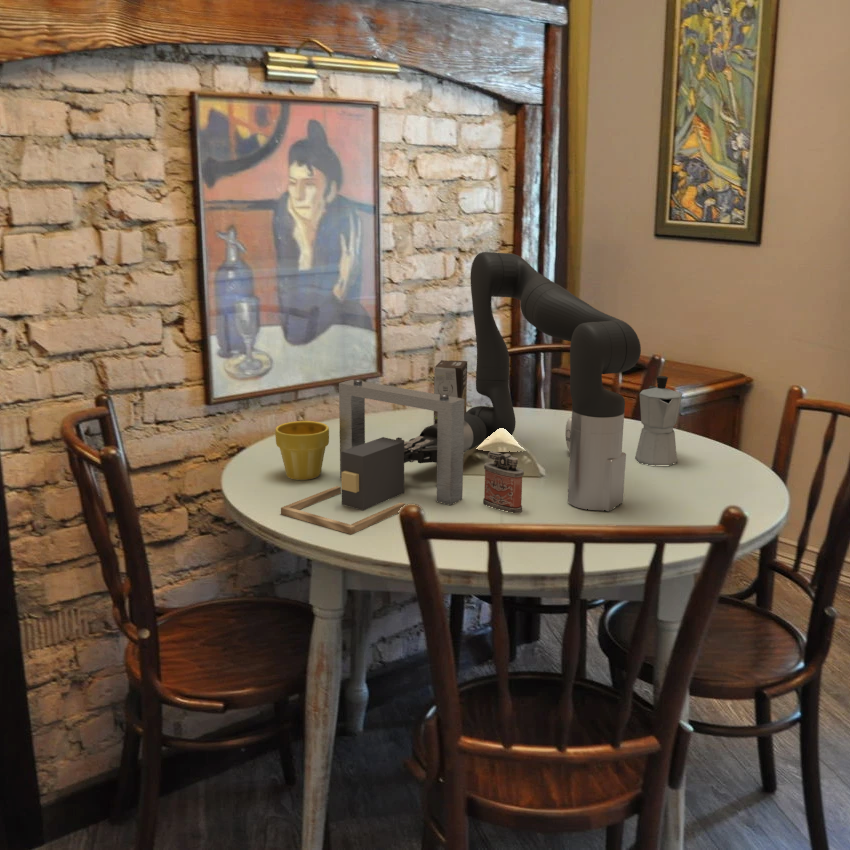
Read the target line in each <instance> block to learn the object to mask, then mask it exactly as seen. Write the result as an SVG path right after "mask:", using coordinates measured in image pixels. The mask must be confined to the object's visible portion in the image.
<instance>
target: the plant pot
mask: <svg viewBox="0 0 850 850" xmlns="http://www.w3.org/2000/svg"><path fill="white" fill-rule="evenodd" d="M274 432H275V433H274V434H275V435H274V436H275V445H276V447H278V448H279V450H280V455H281V457H282V462H283V467H284V470H285V474H286V477H287V478H289V479H291V480H294V481H295V480H298V481H305V480H306V481H307V480H308V481H309V480H313V479H316V478H318V477H319V476H321V473H322V467H323V462H324V459H325V458H324V457H325V451H326V447H327V446H328V445H329V443H330V428H329V426H328V425H327V424H325V423H323V422H320V421H312V420H298V421H289V422H285V423H281V424H280V425H277V426H276V427H275V431H274Z"/></svg>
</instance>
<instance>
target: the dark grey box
mask: <svg viewBox="0 0 850 850" xmlns="http://www.w3.org/2000/svg"><path fill="white" fill-rule="evenodd" d="M404 442H405V440H404V441H399V440H396V439H394V438H388V437H384V436H382V437H379V438H376V439H374V440H371V441H367V442H365V443H364V444H362V445H359V446H356V447H353V448H350V449H347V450H344V451H341V478H340V479H341V505H342V506H345V507H349V508H352V509H356V510H360V511H365V510H368V509H370V508H372V507H375V506H377V505H379V504H382V503H384V502H386V500H387V501H389V500H391V499H393V498H396V497H399V496H400V495H402V494H404V493H405V463H404ZM388 499H389V500H388Z"/></svg>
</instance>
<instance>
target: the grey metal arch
mask: <svg viewBox="0 0 850 850" xmlns="http://www.w3.org/2000/svg"><path fill="white" fill-rule="evenodd" d="M365 399H368V400H373V401H379V402H385V403H388V404H390V403H391V404H394V405H401V406H406V407H409V408H410V407H412V408H416V409H422V410H428V411H431V412H432V411H433V412H434V411H437V412H438V428H437V463H436V502H437V501H438V502H437V503H439V502H442V503H441V504H443V503H445V504H444V505H447V504H449V505H448V506H452V505H453V503H454V504H456V503H458V502H460V501H462V500H463V491H464V490H463V486H464V485H463V483H464V482H463V480H464V479H463V478H464V453H463V444H464V399H462V398H456V397H450V396H449V395H447V394H441V395H439V394H434V392H433V393H432V392H426V391H421V390H414V389H409V388H403V387H398V386H392V385H391V386H390V385H386V384H380V383H375V382H368V381H363V379H349V380H345V381H343V382H339V383H338V402H339V403H338V406H339V407H338V409H339V413H338V414H339V415H338V416H339V418H338V419H339V470H340V471H339V473H340V476H339V477H340V479H341V451H344V450H347V449H350V448H353V447H356V446H359V445H362V444H364V443H366V427H365V426H366V423H365V422H366V419H365V418H366V411H365V409H366V408H365V407H366V401H365ZM459 500H460V501H459ZM455 502H456V503H455ZM451 504H452V505H451Z"/></svg>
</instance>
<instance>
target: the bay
mask: <svg viewBox="0 0 850 850" xmlns="http://www.w3.org/2000/svg"><path fill="white" fill-rule="evenodd" d="M339 494H342V486H339V485H336V486H333V487H330V488H328V489H325V490H323V491H320V492H317V493H315V494H313V495H310V496H307V497H305V498H302V499H299V500H297V501H294V502H292V503H289V504H287V505H284V506H282V507H280V515H283V516H287V517H289V518H293V519H296V520H300V521H303V522H306V523H311V524H314V525H317V526H320V527H324V528H327V529H331V530H335V531H338V532H342V533H345V534H348V535H353V534H356V533H357V532H359V531H362V530H364V529H366V528H368V527H370V526H373V525H375V524H377V523H379V522H382V521H384V520H386V519H388V518H390V517H393V516H395V515H397V514H399V513H398V511H399V510H400V508H401V507H403V506H404V505H405V506H406V503H405V502H398V503H396V504H394V505H392V506H389V507H387V508H385V509H383V510H381V511H378V512H376V513H374V514H372V515H369V516H367V517H364V518H362V519H360V520H358V521H355V522H353V523H351V524H349V523H347V522H346V523H345V522H342V521H339V520H335V519H332V518H328V517H324V516H321V515H319V514H318V515H317V514H315V513H311V512H308V511H307V512H306V511H303V510H302V509H305V508H307V507H310V506H312V505H314V504H317V503H320V502H322V501H325V500H327V499H329V498H332V497H335V496H337V495H338V496H339ZM394 514H395V515H394ZM392 515H393V516H392Z"/></svg>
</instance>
